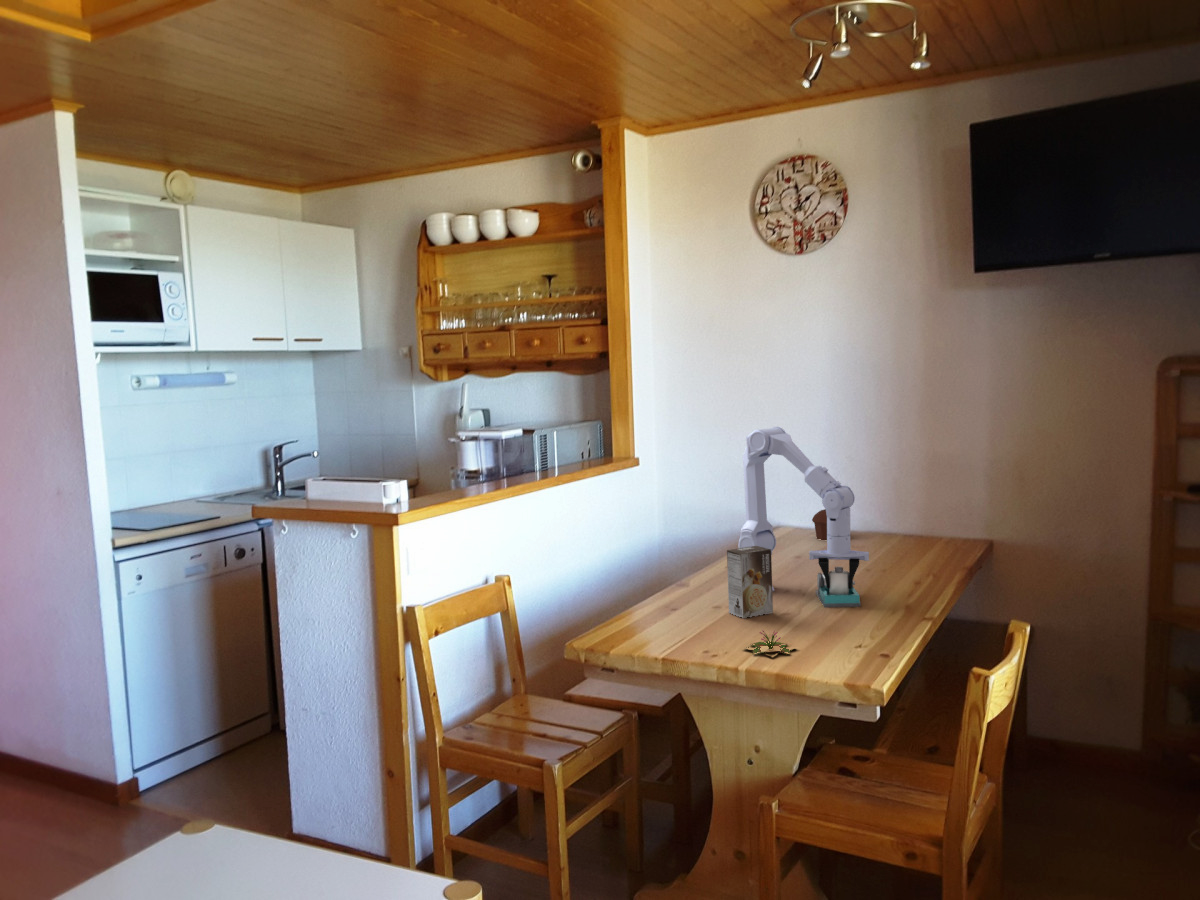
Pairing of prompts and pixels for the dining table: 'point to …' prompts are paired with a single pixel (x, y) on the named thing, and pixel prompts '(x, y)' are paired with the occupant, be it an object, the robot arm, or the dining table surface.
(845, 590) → the white capped bottle
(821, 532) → the muffin
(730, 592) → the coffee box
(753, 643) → the lily flower
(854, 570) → the robot arm
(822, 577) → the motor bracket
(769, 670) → the dining table surface
